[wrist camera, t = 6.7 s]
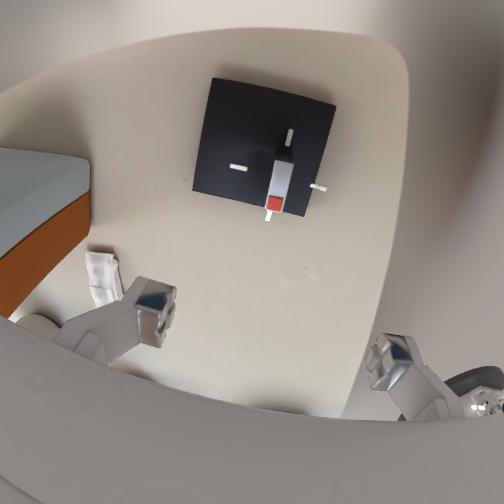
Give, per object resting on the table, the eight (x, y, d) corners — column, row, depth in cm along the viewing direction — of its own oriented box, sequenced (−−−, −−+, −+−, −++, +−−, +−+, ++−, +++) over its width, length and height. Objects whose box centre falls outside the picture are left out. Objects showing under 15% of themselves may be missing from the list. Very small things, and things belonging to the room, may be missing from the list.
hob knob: (275, 151, 23) (274, 160, 21) (292, 155, 23) (294, 164, 21) (265, 196, 25) (263, 211, 23) (282, 200, 25) (281, 215, 23)
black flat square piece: (344, 109, 23) (350, 110, 21) (310, 221, 28) (312, 231, 26) (217, 78, 22) (212, 77, 21) (196, 194, 28) (189, 202, 26)
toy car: (99, 299, 36) (92, 310, 34) (86, 247, 32) (76, 257, 30) (129, 305, 36) (122, 316, 34) (118, 250, 32) (109, 261, 30)
